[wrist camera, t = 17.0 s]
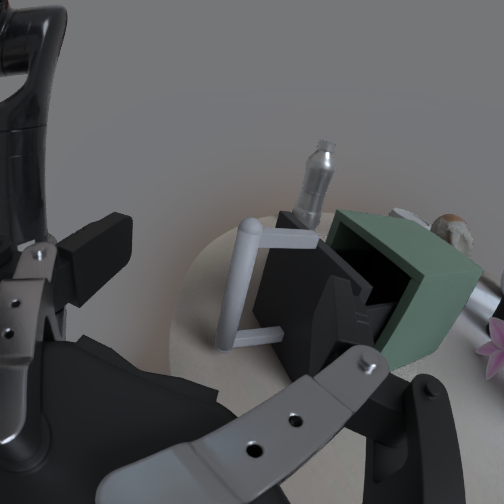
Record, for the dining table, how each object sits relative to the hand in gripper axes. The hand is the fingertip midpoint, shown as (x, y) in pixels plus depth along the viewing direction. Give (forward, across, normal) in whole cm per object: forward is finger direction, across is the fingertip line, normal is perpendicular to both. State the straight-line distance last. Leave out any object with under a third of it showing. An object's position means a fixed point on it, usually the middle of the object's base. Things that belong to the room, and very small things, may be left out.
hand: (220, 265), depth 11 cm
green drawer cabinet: (+22, -18, +17) cm, 33 cm away
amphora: (+58, -46, +17) cm, 76 cm away
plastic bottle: (+54, -6, +17) cm, 57 cm away
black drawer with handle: (+16, -8, +17) cm, 25 cm away
